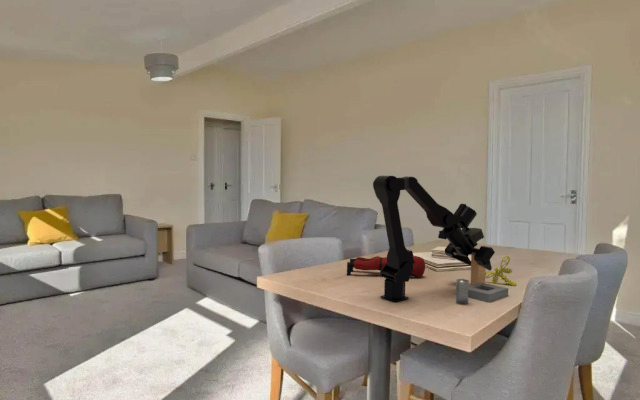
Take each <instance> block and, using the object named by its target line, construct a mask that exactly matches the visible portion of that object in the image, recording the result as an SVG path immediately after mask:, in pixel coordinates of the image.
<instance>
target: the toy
mask: <svg viewBox="0 0 640 400" xmlns="http://www.w3.org/2000/svg"><path fill="white" fill-rule="evenodd" d="M413 259H414V262H415V263H413V264H414V268H413V270H412V272H411V275H410V278H419V279H420V278H422V277H423V275H424V274H425V271H426V262H425V260H424V258H422V257H421V256H416V255H415V256H414V255H413ZM386 263H387V256H385V257H381V256H379V255H376V256H373V257H371V258H366V257H362V256H360V257H359V256H358V257H356V258H349V261H347V262H346V266H347V267H346V276H351V275H352V274H351V273H353V272H354V269H355V270H360V271H379V272H380V271H381V269H382V268H383V267H384V266H385V265H386ZM395 275H396V273H395Z"/></svg>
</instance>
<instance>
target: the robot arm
mask: <svg viewBox="0 0 640 400" xmlns="http://www.w3.org/2000/svg"><path fill="white" fill-rule="evenodd" d="M372 187H373V188H372V189H373V190H374V191H373V192H374V193H375V196H376V199H377V200H378V201H379V203H380V204H381V207H382V213H383V220H384V224H385V230H386V236H387V242H388V246H389V247H388V252H387V255H386V257H387V263H386V265H385V266H384V267H383V268H382V269H381V271H380V270H379V273H380V276H381V278H383V279H384V284H383V285H384V292H383V295H381V296H380V298H381V299H385V300H388V301H390V302H391V301H392V302H394V303H397V302H401V301H405V300H408V299H409V296H406V283H407V282H409V281H410V278H411V277H410V275H411V272H412V270H413V268H414V264H413V263H415V262H414V259H413V256H414V252H413V250H410V249H407V246H406V245H405V239H404V233H403V228H402V223H401V222H402V221H401V217H400V216H401V215H400V210H399V199H400V196H401V191H406V193H408V194H409V196H410V197H411V198H412V199H413V200H414V201H415V202H416V203H417V204H418V206H420V207H421V208H422V209H423V211H424V212H425V213H426V218H427V220H428V221H429V223H430V224H431V225H432V226H433V227H436V228H441V229H442V230H439V231H438V235H437V238H438V239H441V240H448V242H449V243H448V244H447V245H446V247H445V249H444V254H445V255H446V256H447V257H450V258H452V259H454V260H456V261H459V262H461V263H463V264H465V265H468V266H470V267H471V258H470V257H469V256H471V254H472V255H474V260H475V262H477V264H478V265H480V266H482V267H484V268H485V270H488V271H489V272H492V271H491V270H492V268H493V267H492V263H491V259H492V258H493V256H494V255H495V251H496V250H494V248H493V247H492V246H485V245H481V246H480V247H479V248H476V247H477V246H478V242H479V241H480V240H482V239H484V238H485V234H484V232H483V230H482V228H478V227H469V226H470V225H471V223H472V222H473V221H474V219H475V218H476V217H477V215H478V213H477V212H476V210H475V209H474V208H471V207H470V206H468V205H467V204H466V203H460V204H458V205H459V206H458V208H457V209H456V210H455V212H452V211H450V210H449V209H448V208H446V207H445V206H443V205H442V204H441V205H440V204H439V203H438V202H437V201H436V200H435V199H434V198H433V196H431V195H430V194H429V192H428V191H427V190H426V188H424V187H423V186H422V185H421V184H420V182H418V178H416V177H414V176H402V177H396V176H394V175H378V176H377V177H375V179H374V180H373V181H372ZM395 273H396V275H395Z"/></svg>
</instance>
